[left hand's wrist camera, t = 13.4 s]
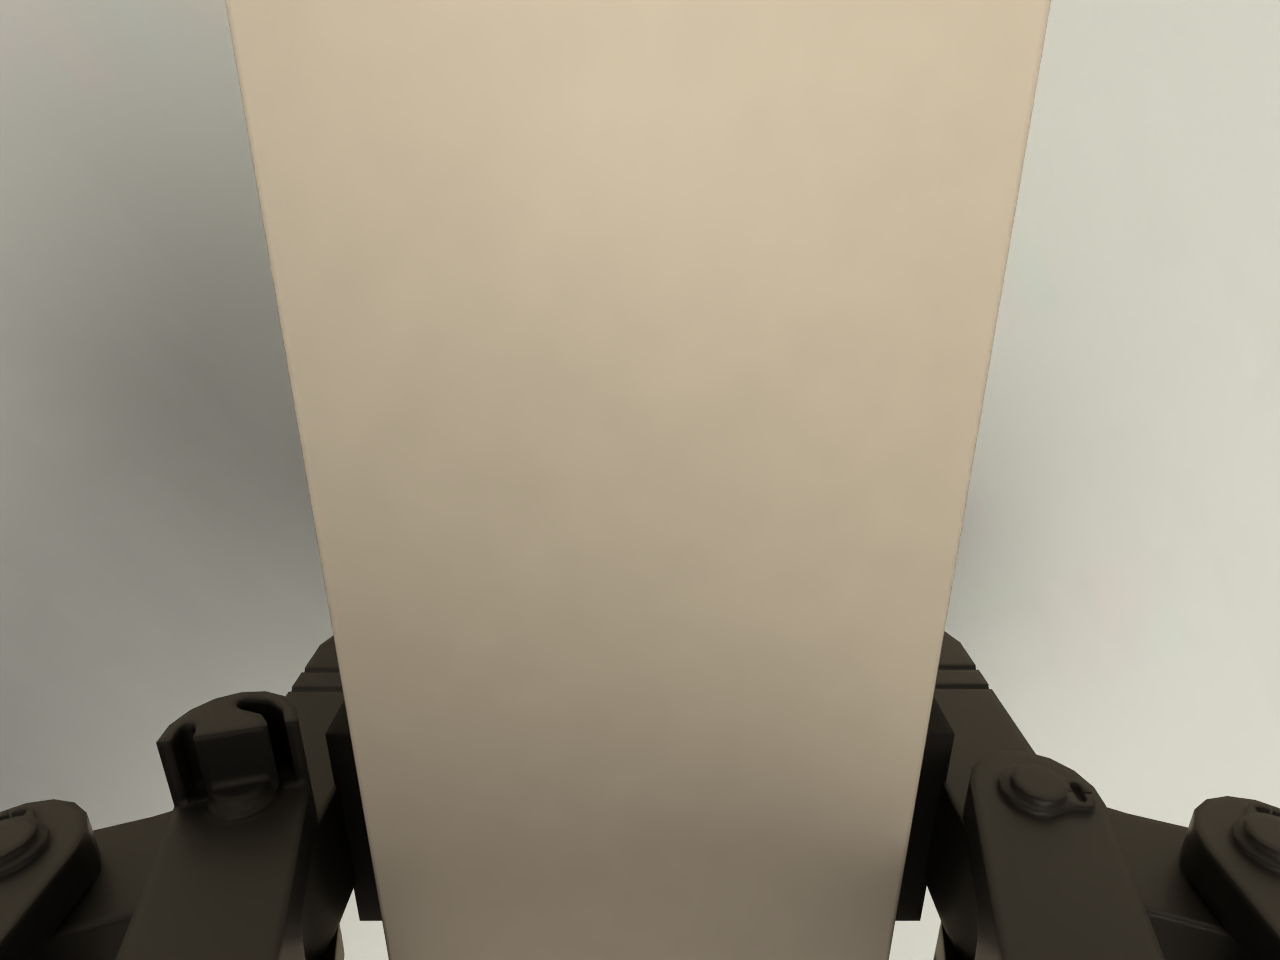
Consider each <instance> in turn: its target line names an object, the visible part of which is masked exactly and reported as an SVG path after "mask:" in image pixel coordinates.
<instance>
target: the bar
mask: <svg viewBox="0 0 1280 960" xmlns="http://www.w3.org/2000/svg"><path fill="white" fill-rule="evenodd" d="M225 1H226V7H227V13H228V19H229V25H230V30H231V36H232V42H233V48H234V54H235V60H236V66H237V72H238V77H239V83H240V89H241V95H242V101H243V107H244V113H245V118H246V124H247V130H248V136H249V142H250V148H251V154H252V159H253V165H254V171H255V177H256V183H257V189H258V195H259V201H260V206H261V212H262V218H263V224H264V230H265V236H266V242H267V247H268V253H269V259H270V265H271V271H272V277H273V283H274V289H275V294H276V300H277V306H278V312H279V318H280V324H281V330H282V335H283V341H284V347H285V353H286V359H287V365H288V371H289V376H290V382H291V388H292V394H293V400H294V406H295V412H296V418H297V423H298V429H299V435H300V441H301V447H302V453H303V459H304V464H305V470H306V476H307V482H308V488H309V494H310V500H311V505H312V511H313V517H314V523H315V529H316V535H317V541H318V547H319V552H320V558H321V564H322V570H323V576H324V582H325V588H326V593H327V599H328V605H329V611H330V617H331V623H332V629H333V635H334V640H335V646H336V652H337V658H338V664H339V670H340V676H341V681H342V687H343V693H344V699H345V705H346V711H347V717H348V722H349V728H350V734H351V740H352V746H353V752H354V758H355V764H356V769H357V775H358V781H359V787H360V793H361V799H362V805H363V810H364V816H365V822H366V828H367V834H368V840H369V846H370V852H371V857H372V863H373V869H374V875H375V881H376V887H377V893H378V898H379V904H380V910H381V916H382V922H383V928H384V934H385V939H386V945H387V951H388V957H389V960H889V954H890V948H891V942H892V936H893V931H894V925H895V919H896V913H897V907H898V901H899V895H900V889H901V883H902V877H903V871H904V866H905V860H906V854H907V848H908V842H909V836H910V830H911V824H912V818H913V812H914V806H915V801H916V795H917V789H918V783H919V777H920V771H921V765H922V759H923V753H924V747H925V741H926V736H927V730H928V724H929V718H930V712H931V706H932V700H933V694H934V688H935V682H936V676H937V671H938V665H939V659H940V653H941V647H942V641H943V635H944V629H945V623H946V617H947V611H948V606H949V600H950V594H951V588H952V582H953V576H954V570H955V564H956V558H957V552H958V547H959V541H960V535H961V529H962V523H963V517H964V511H965V505H966V499H967V493H968V487H969V482H970V476H971V470H972V464H973V458H974V452H975V446H976V440H977V434H978V428H979V422H980V417H981V411H982V405H983V399H984V393H985V387H986V381H987V375H988V369H989V363H990V357H991V352H992V346H993V340H994V334H995V328H996V322H997V316H998V310H999V304H1000V298H1001V292H1002V287H1003V281H1004V275H1005V269H1006V263H1007V257H1008V251H1009V245H1010V239H1011V233H1012V227H1013V222H1014V216H1015V210H1016V204H1017V198H1018V192H1019V186H1020V180H1021V174H1022V168H1023V162H1024V157H1025V151H1026V145H1027V139H1028V133H1029V127H1030V121H1031V115H1032V109H1033V103H1034V97H1035V92H1036V86H1037V80H1038V74H1039V68H1040V62H1041V56H1042V50H1043V44H1044V38H1045V32H1046V27H1047V21H1048V15H1049V9H1050V3H1051V0H225Z"/></svg>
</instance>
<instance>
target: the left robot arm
mask: <svg viewBox="0 0 1280 960" xmlns="http://www.w3.org/2000/svg"><path fill="white" fill-rule="evenodd" d="M156 744H157V747H158V751H159V754H160V757H161V761H162V764H163V768H164V771H165V775H166V778H167V782H168V785H169V789H170V792H171V796H172V799H173V803H174V809H173V811H170V812H167V813H164V814H160V815H157V816H154V817H150V818H146V819H141V820H137V821H133V822H128V823H124V824H120V825H115V826H111V827H107V828H103V829H98V830H94V831H93V830H92V827H91V824H90V822H89V819H88V816H87V813H86V812H85V811H84V810H83V809H81V808H80V807H79V806H78V805H77V804H76V803H74V802H67V801H61V800H54V799H53V800H46V801H39V802H32V803H25V804H22V805H20V806H17V807H14V808H11V809H8V810H5V811H2V812H0V960H344V948H343V941H342V935H341V930H340V925H339V923H340V920H341V918H342V915H343V913H344V910H345V908H346V905H347V903H348V900H349V898H350V895H351V893H352V890H353V888H354V892H355V897H356V902H357V908H358V913H359V919H360V921H382V916H381V910H380V904H379V898H378V893H377V887H376V881H375V875H374V869H373V863H372V857H371V852H370V846H369V840H368V834H367V828H366V822H365V816H364V810H363V805H362V799H361V793H360V787H359V781H358V775H357V769H356V764H355V758H354V752H353V746H352V740H351V734H350V728H349V722H348V717H347V711H346V705H345V699H344V693H343V687H342V681H341V676H340V670H339V664H338V658H337V652H336V646H335V640H334V635H333V636H332V637H331V638H329V639H328V640H327V641H325V642H324V643H322V644H321V645H320V646H319V648H318V649H317V651H316V652H315V654H314V655H313V657H312V658H311V660H310V661H309V663H308V664H307V666H306V667H305V672H304V673H301V674H300V676H299V677H298V679H297V680H296V682H295V683H294V685H293V686H292V692H288V694H287V695H286V697H285V696H282V695H278V694H274V693H270V692H266V691H263V692H241V693H237V694H233V695H229V696H225V697H220V698H216V699H214V700H211V701H209V702H207V703H205V704H203V705H200V706H198V707H196V708H194V709H192V710H190V711H188V712H187V713H186V714H184V715H183V716H181V717H180V718H179V719H177V720H176V721H175V722H173V723H172V724H171V725H169V726H168V728H167V729H166V730H165V732H164V733H163V734H162V736H161V737H160V738H159V740H158V741H157V742H156ZM926 886H927V887H928V889H929V892H930V894H931V897H932V899H933V902H934V904H935V907H936V909H937V912H938V914H939V916H940V919H941V925H940V930H939V935H938V939H937V944H936V949H935V954H934V959H933V960H1280V808H1277V807H1274V806H1271V805H1268V804H1265V803H1262V802H1259V801H1257V800H1251V799H1244V798H1237V797H1230V796H1225V797H1219V798H1212V799H1206V800H1205V801H1204V802H1203V803H1202V804H1201V805H1199V806H1198V807H1197V808H1196V809H1195V810H1194V813H1193V816H1192V819H1191V821H1190V824H1189V827H1188V828H1187V827H1183V826H1179V825H1174V824H1170V823H1166V822H1161V821H1157V820H1153V819H1148V818H1144V817H1140V816H1136V815H1131V814H1127V813H1124V812H1121V811H1117V810H1114V809H1111V808H1107V807H1106V805H1105V804H1104V802H1103V801H1102V799H1101V797H1100V796H1099V794H1098V793H1097V791H1096V790H1095V788H1094V787H1093V786H1092V785H1091V784H1089V783H1088V782H1087V781H1086V780H1085V779H1083V778H1082V777H1081V776H1080V775H1079V774H1077V773H1076V772H1075V771H1074V770H1072V769H1070V768H1068V767H1066V766H1064V765H1062V764H1060V763H1058V762H1056V761H1054V760H1052V759H1050V758H1047V757H1043V756H1039V755H1036V754H1035V752H1034V751H1033V749H1032V748H1031V746H1030V745H1029V744H1028V742H1027V741H1026V739H1025V738H1024V736H1023V735H1022V733H1021V732H1020V730H1019V729H1018V727H1017V726H1016V724H1015V723H1014V721H1013V720H1012V718H1011V717H1010V715H1009V714H1008V713H1007V711H1006V710H1005V708H1004V707H1003V705H1002V704H1001V702H1000V701H999V699H998V698H997V696H996V695H995V693H994V692H993V690H992V689H989V687H988V683H987V682H986V680H985V679H984V677H983V676H982V674H981V673H980V671H979V670H976V665H975V664H974V662H973V661H972V659H971V658H970V656H969V655H968V653H967V652H966V651H965V649H964V648H963V646H962V645H961V643H960V642H959V641H957V640H956V639H954V638H953V637H952V636H950V635H949V634H948V633H946V632H945V631H944V635H943V641H942V647H941V653H940V659H939V665H938V671H937V676H936V682H935V688H934V694H933V700H932V706H931V712H930V718H929V724H928V730H927V736H926V741H925V747H924V753H923V759H922V765H921V771H920V777H919V783H918V789H917V795H916V801H915V806H914V812H913V818H912V824H911V830H910V836H909V842H908V848H907V854H906V860H905V866H904V871H903V877H902V883H901V889H900V895H899V901H898V907H897V913H896V919H895V921H920V918H921V913H922V908H923V902H924V897H925V892H926Z"/></svg>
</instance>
